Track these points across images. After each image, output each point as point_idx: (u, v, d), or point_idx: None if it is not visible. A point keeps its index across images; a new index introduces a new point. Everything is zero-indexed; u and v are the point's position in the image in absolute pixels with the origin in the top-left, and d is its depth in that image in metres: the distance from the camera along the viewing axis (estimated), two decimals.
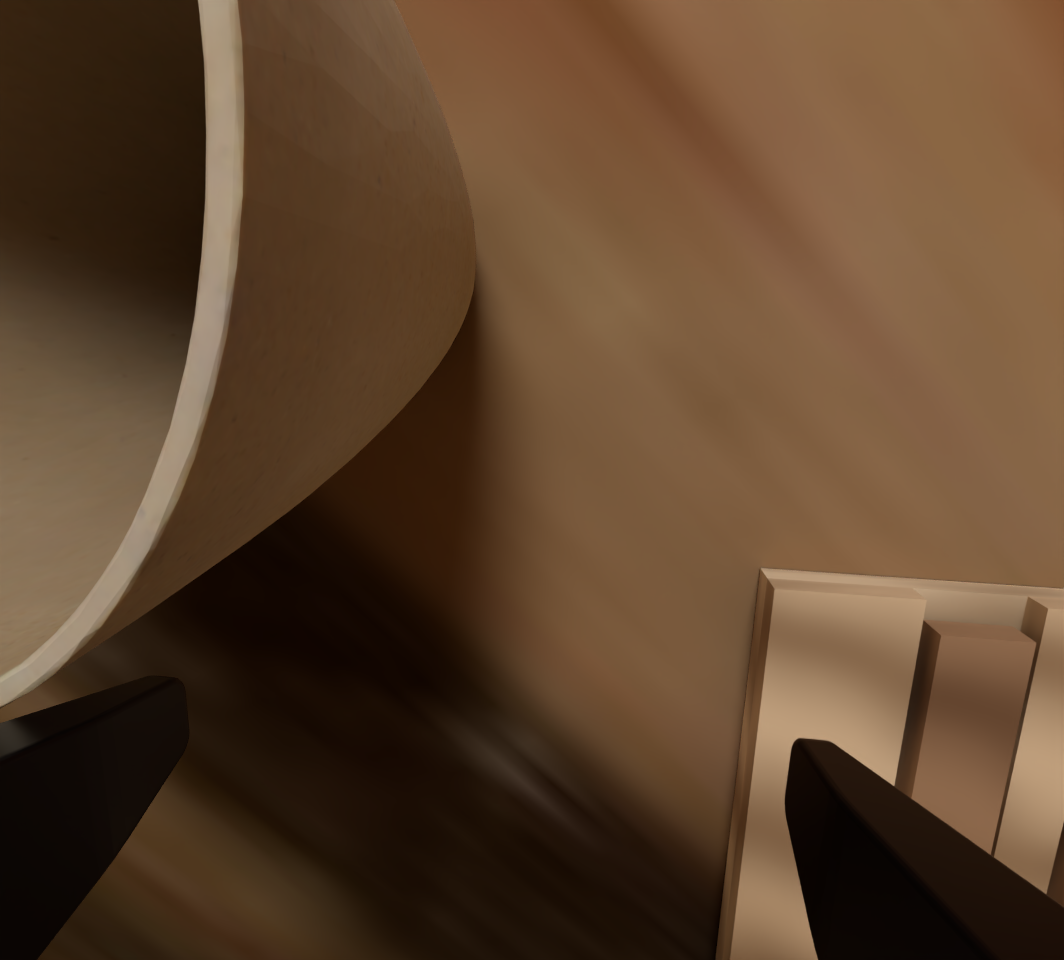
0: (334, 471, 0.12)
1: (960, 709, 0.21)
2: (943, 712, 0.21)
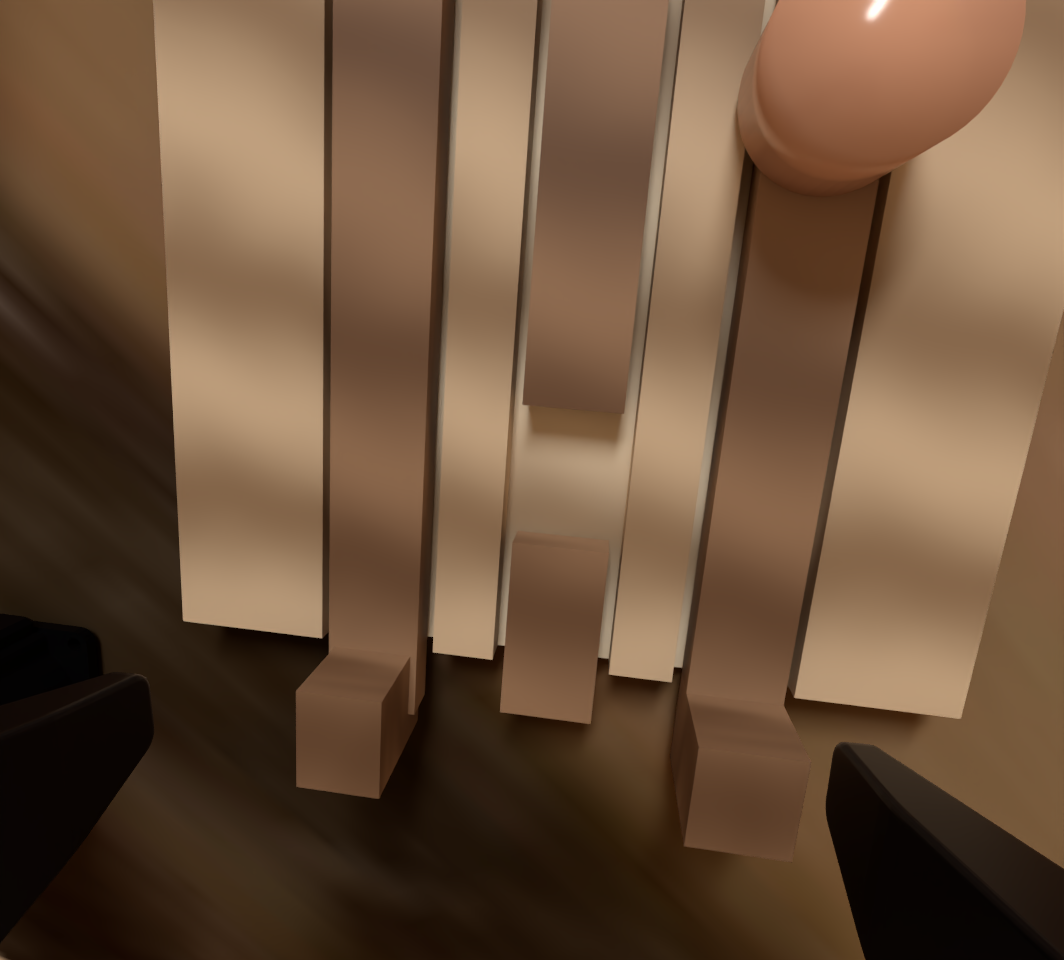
0: None
1: (370, 53, 0.16)
2: (351, 60, 0.16)
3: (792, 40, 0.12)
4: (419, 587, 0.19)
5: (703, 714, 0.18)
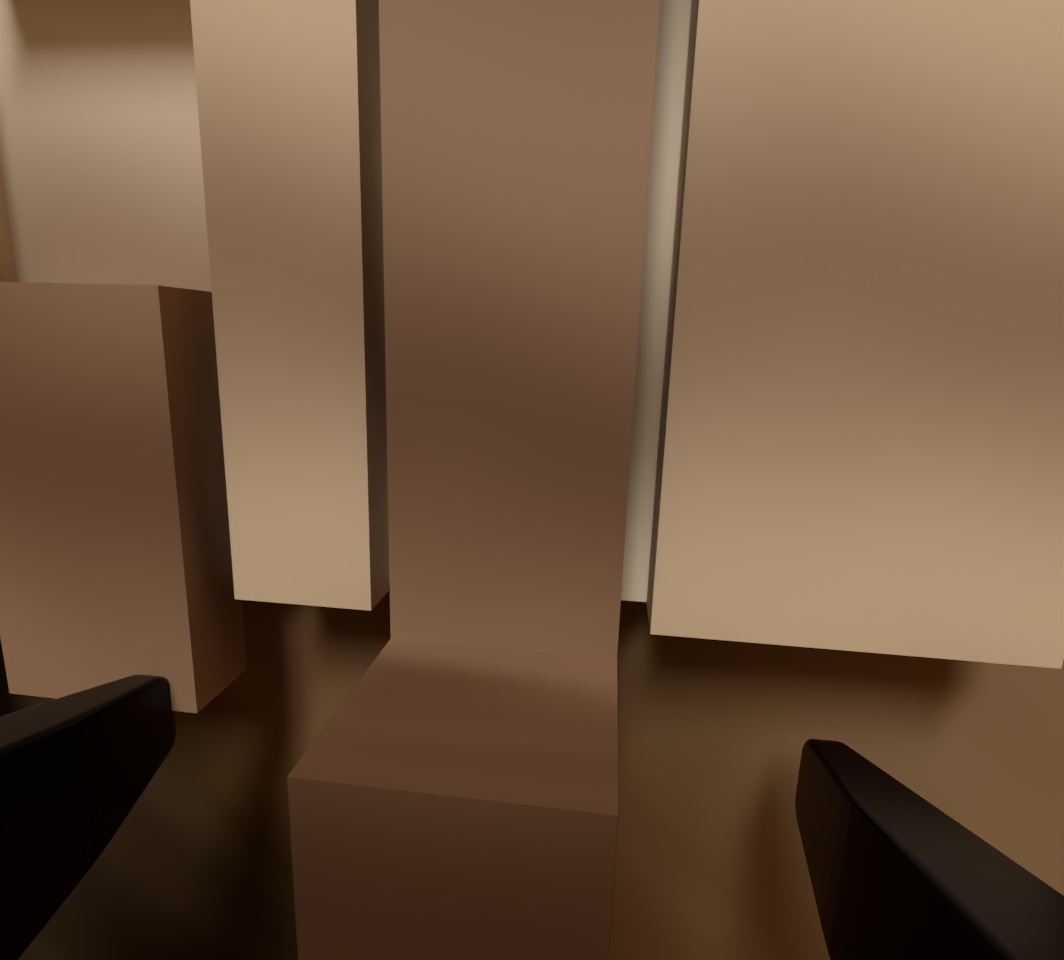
0: None
1: None
2: None
3: None
4: None
5: (388, 686, 0.07)
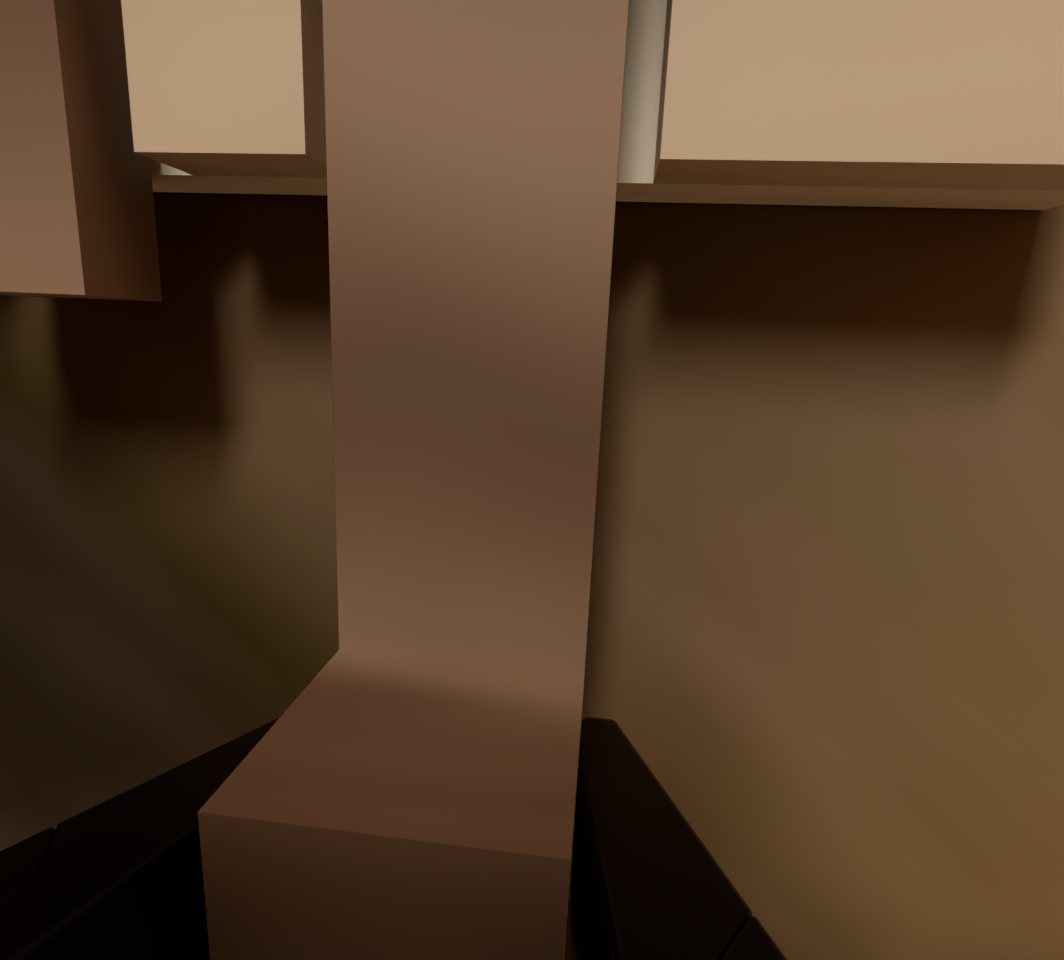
0: None
1: None
2: None
3: None
4: None
5: (328, 704, 0.06)
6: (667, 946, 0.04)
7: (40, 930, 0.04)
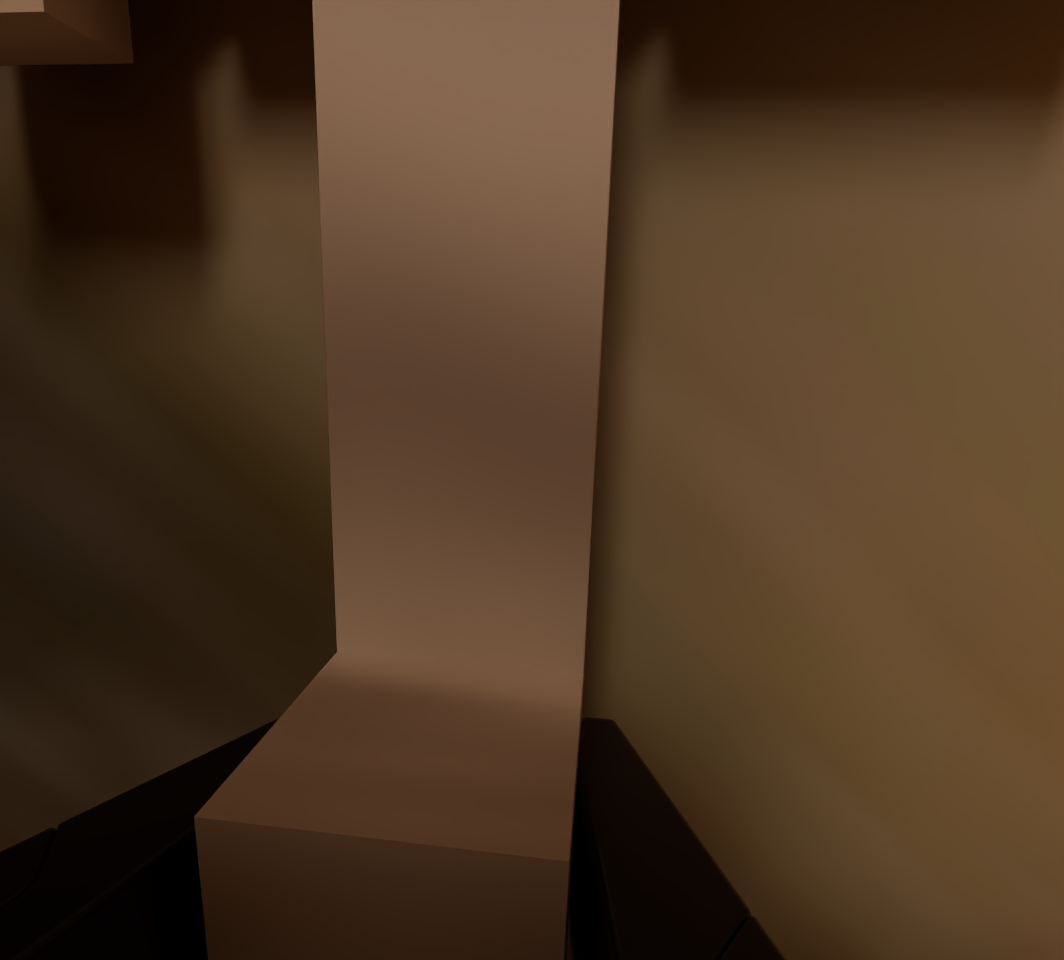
0: None
1: None
2: None
3: None
4: None
5: (327, 706, 0.06)
6: (665, 946, 0.04)
7: (41, 930, 0.04)
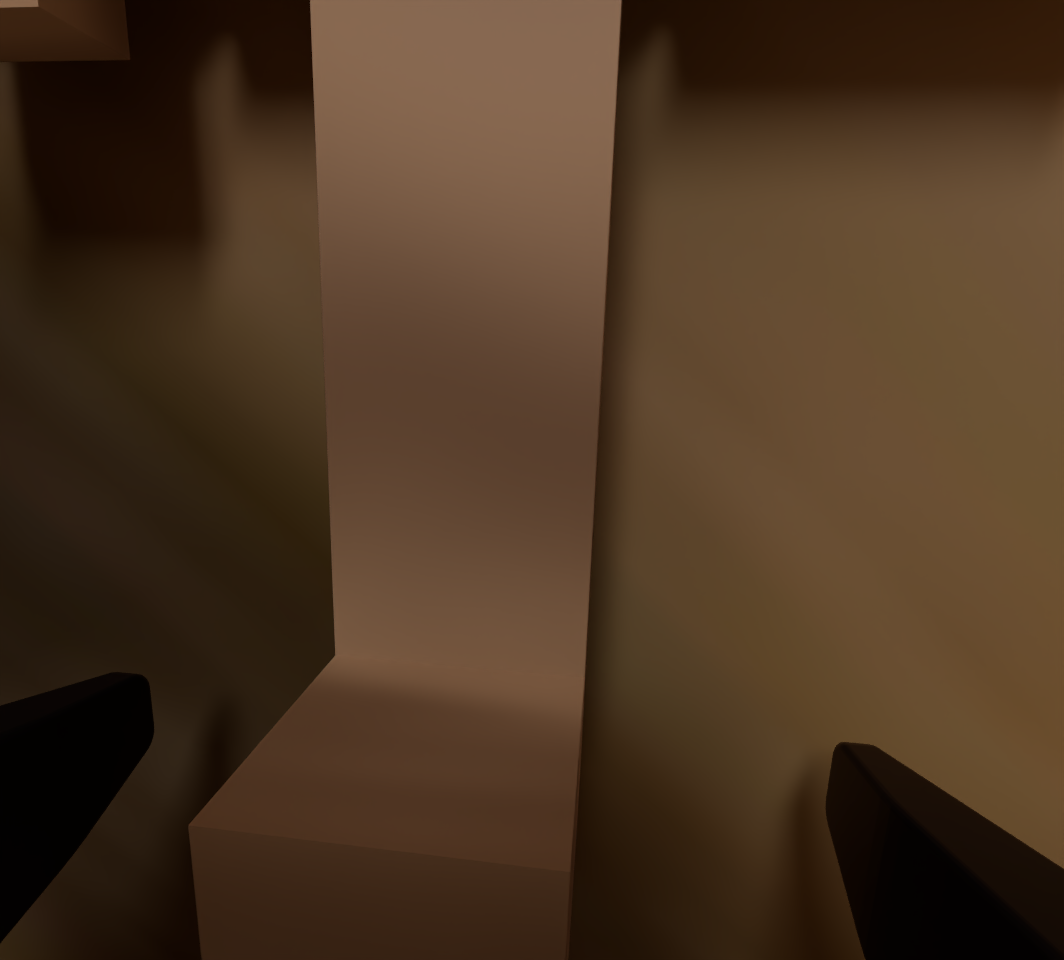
0: None
1: None
2: None
3: None
4: None
5: (324, 711, 0.06)
6: None
7: None
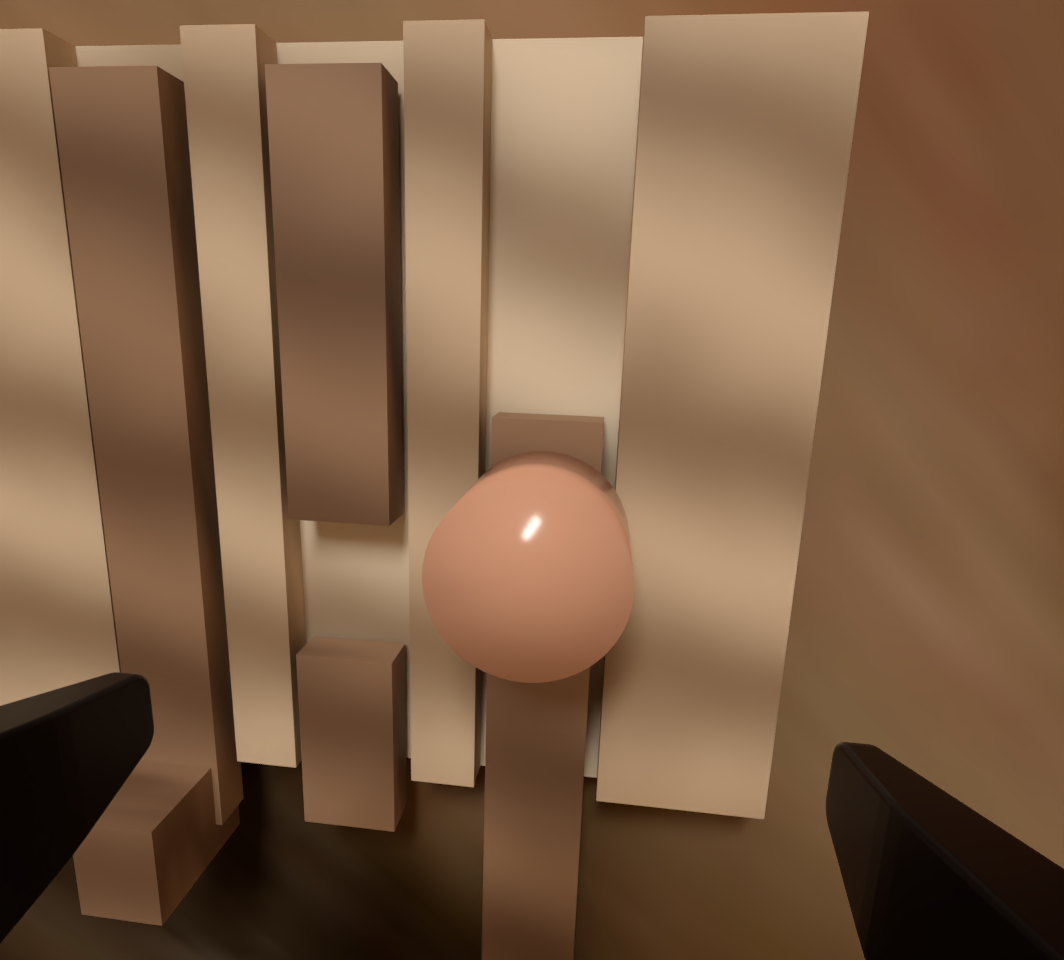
0: None
1: (98, 178, 0.16)
2: (81, 185, 0.16)
3: (437, 590, 0.13)
4: (212, 700, 0.19)
5: None
6: None
7: None
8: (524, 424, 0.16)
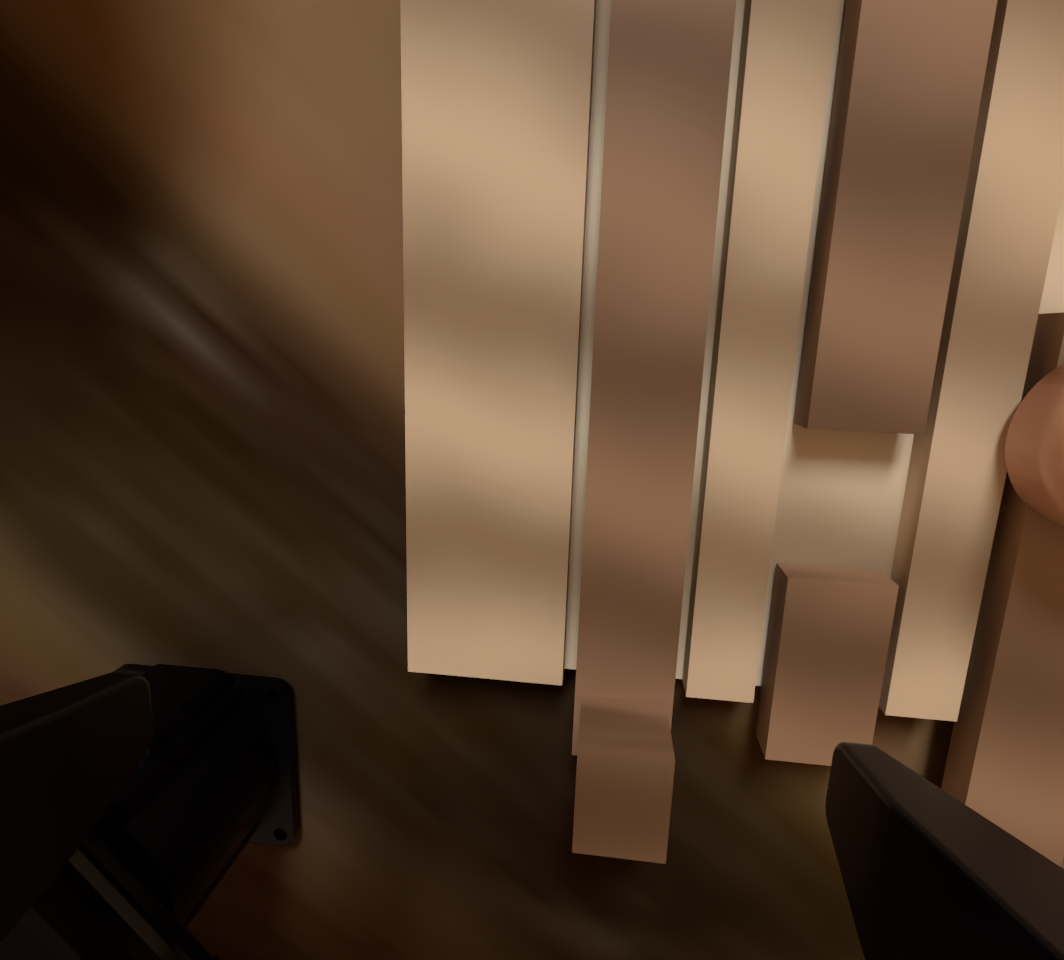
0: None
1: (651, 54, 0.15)
2: (629, 62, 0.15)
3: None
4: (679, 629, 0.18)
5: None
6: None
7: None
8: None
